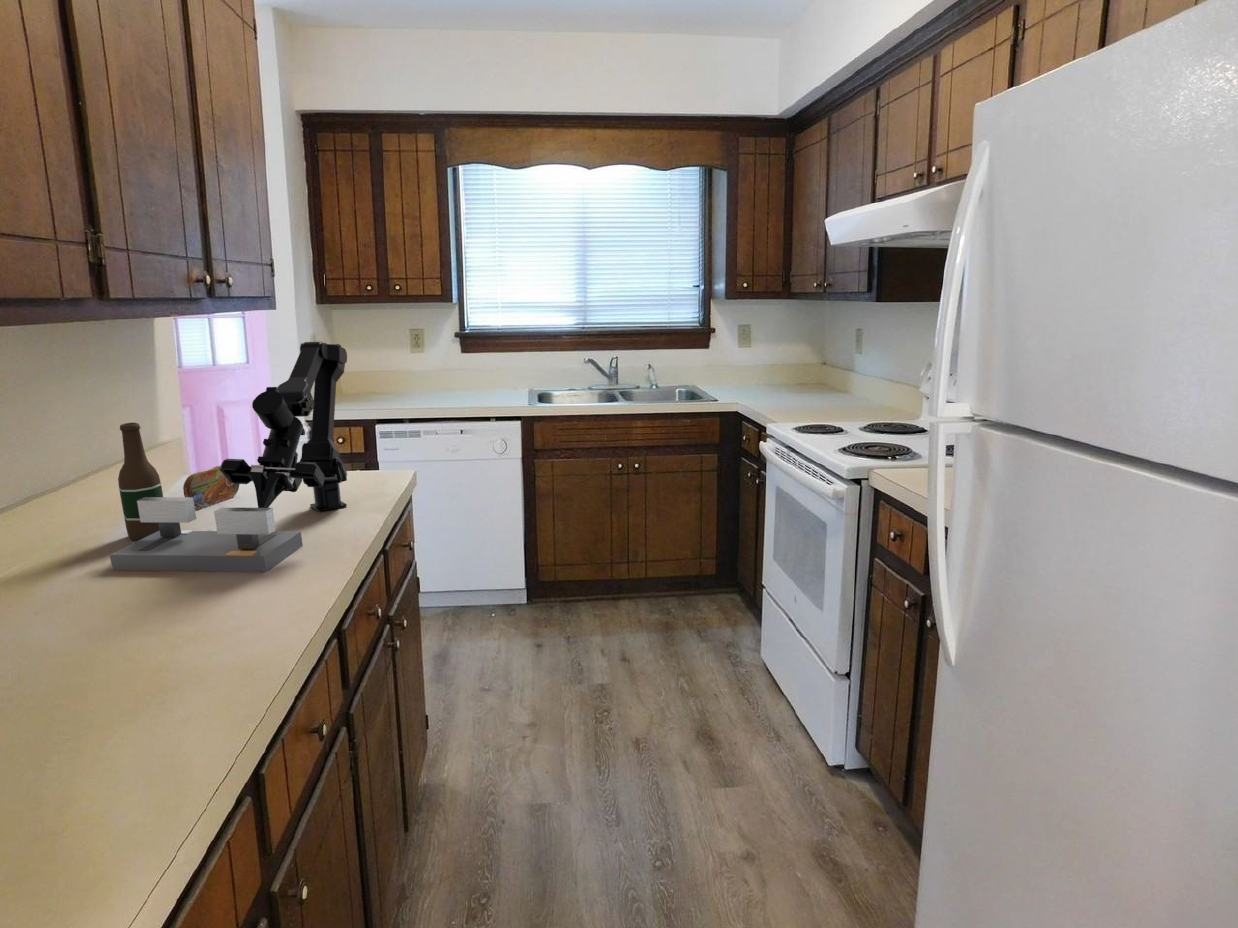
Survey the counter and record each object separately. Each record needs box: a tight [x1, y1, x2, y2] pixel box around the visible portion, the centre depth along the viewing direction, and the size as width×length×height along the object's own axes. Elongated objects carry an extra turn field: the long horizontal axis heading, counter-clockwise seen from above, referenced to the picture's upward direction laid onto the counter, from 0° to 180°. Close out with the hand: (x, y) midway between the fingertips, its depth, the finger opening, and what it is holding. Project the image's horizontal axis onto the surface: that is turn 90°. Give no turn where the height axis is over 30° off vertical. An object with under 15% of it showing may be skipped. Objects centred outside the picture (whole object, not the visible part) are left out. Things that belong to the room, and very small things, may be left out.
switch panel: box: [109, 529, 304, 573], centre depth 152 cm, size 14×30×3 cm, turn 85°
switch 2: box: [213, 507, 277, 549], centre depth 147 cm, size 2×10×7 cm, turn 85°
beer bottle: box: [117, 422, 164, 542], centre depth 164 cm, size 8×8×24 cm
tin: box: [182, 465, 240, 509], centre depth 190 cm, size 15×3×8 cm, turn 162°
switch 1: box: [137, 496, 197, 537], centre depth 155 cm, size 2×10×7 cm, turn 85°
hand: (261, 511), depth 152 cm, fingers closed
